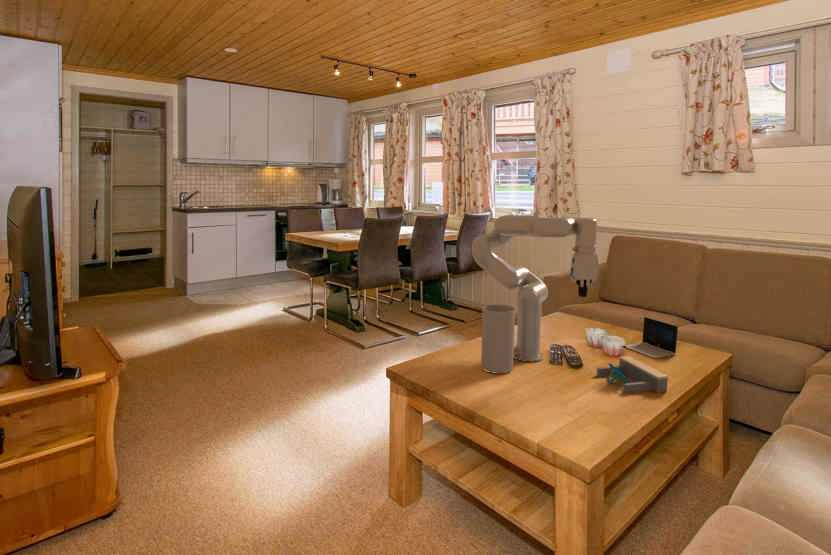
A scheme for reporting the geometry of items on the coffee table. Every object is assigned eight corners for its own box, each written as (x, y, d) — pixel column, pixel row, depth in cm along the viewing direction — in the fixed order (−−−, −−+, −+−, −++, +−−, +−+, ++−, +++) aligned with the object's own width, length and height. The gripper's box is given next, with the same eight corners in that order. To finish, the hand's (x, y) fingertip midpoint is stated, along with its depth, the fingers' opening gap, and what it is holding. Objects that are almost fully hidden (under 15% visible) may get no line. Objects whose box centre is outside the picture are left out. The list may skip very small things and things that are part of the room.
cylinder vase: (475, 366, 207) (476, 306, 202) (501, 362, 211) (503, 303, 207) (491, 376, 195) (493, 313, 191) (519, 372, 200) (521, 310, 196)
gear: (635, 385, 183) (616, 365, 183) (623, 396, 183) (603, 376, 184) (626, 377, 194) (607, 358, 194) (614, 388, 194) (595, 369, 195)
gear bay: (629, 395, 177) (630, 379, 176) (593, 373, 199) (594, 358, 198) (667, 391, 181) (668, 376, 180) (627, 369, 202) (628, 355, 201)
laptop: (621, 347, 231) (624, 319, 229) (642, 343, 236) (644, 316, 234) (654, 359, 215) (657, 329, 212) (675, 355, 220) (678, 326, 217)
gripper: (572, 251, 192) (570, 299, 195) (608, 250, 195) (604, 297, 199) (562, 249, 199) (560, 295, 203) (596, 248, 203) (594, 293, 206)
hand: (582, 296), depth 201 cm, fingers closed
